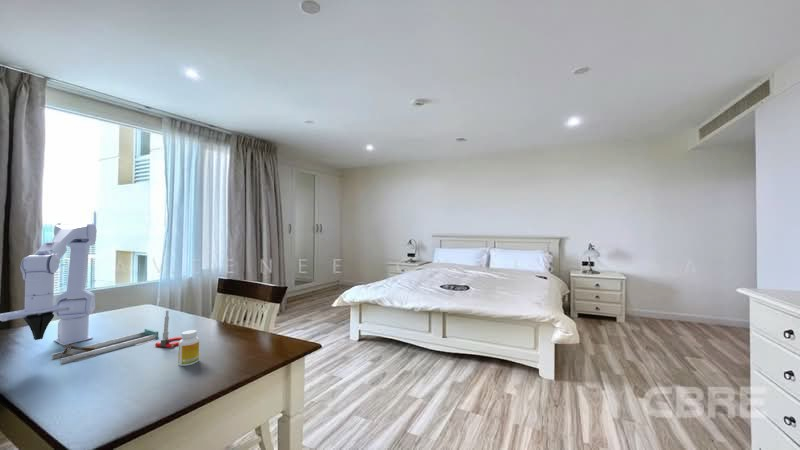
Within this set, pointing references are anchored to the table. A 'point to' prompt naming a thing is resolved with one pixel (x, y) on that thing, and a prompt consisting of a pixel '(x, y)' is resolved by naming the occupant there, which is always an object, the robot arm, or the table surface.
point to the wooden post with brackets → (75, 349)
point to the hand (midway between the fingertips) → (38, 338)
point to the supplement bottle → (188, 348)
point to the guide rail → (147, 332)
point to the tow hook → (165, 340)
